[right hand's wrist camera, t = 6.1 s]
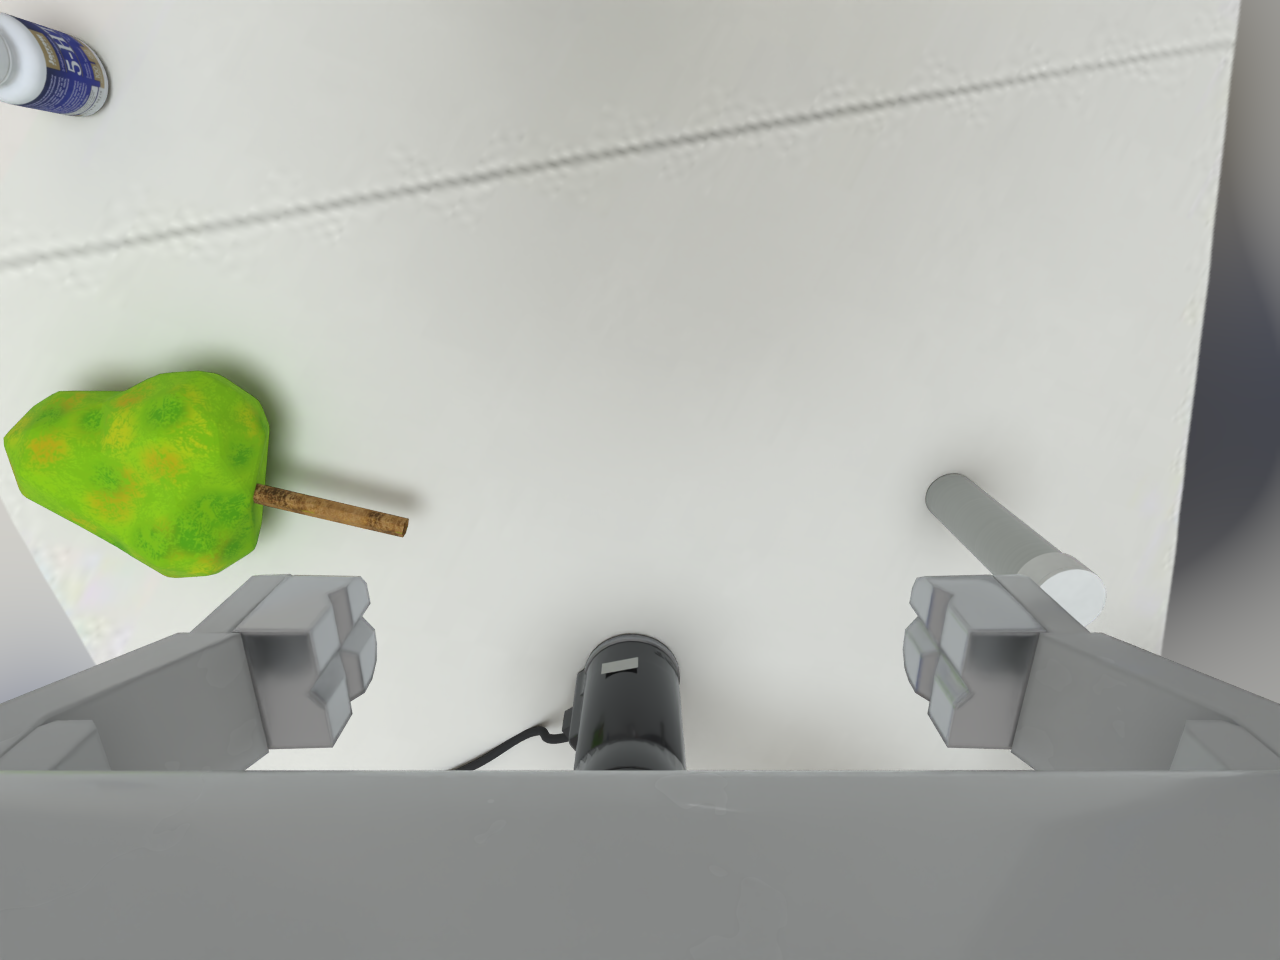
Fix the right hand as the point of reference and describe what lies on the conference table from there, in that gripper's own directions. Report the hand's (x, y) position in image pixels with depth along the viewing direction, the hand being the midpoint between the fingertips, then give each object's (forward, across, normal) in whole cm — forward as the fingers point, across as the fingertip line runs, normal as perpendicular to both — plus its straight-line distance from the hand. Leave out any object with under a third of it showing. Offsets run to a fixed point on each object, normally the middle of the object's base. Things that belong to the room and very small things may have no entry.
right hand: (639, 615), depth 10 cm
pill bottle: (+48, +41, -15) cm, 65 cm away
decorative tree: (+48, +34, +14) cm, 61 cm away
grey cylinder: (+48, -28, +18) cm, 58 cm away
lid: (+30, -28, +18) cm, 45 cm away
